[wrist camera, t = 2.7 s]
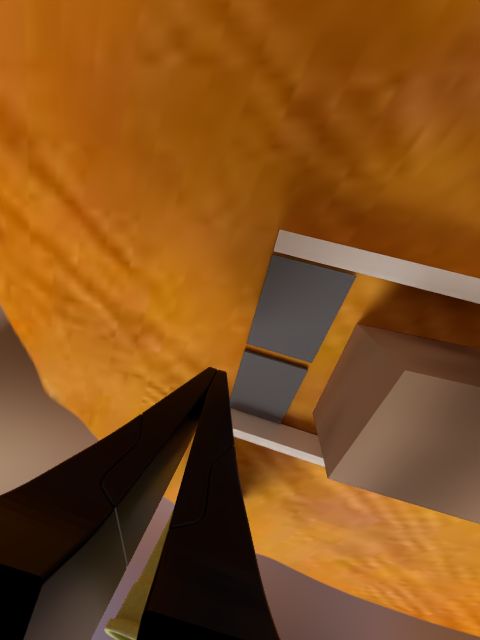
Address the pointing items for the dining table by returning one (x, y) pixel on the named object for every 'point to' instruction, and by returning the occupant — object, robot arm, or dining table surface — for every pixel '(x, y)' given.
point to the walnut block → (405, 420)
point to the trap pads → (287, 333)
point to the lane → (360, 262)
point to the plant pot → (136, 598)
